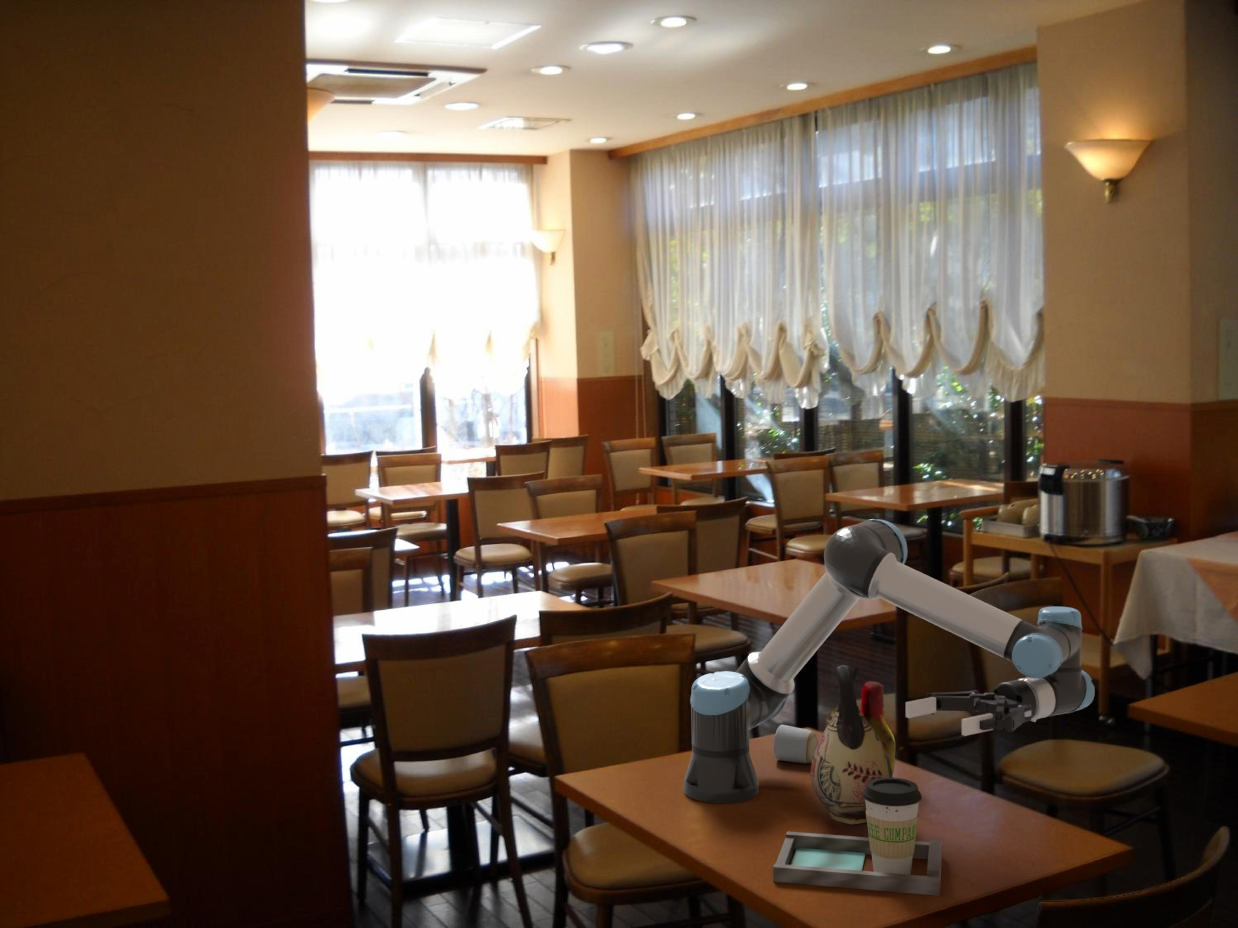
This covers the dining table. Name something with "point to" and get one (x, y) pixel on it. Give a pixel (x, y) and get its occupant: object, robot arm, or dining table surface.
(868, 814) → the coffee cup
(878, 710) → the bottle
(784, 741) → the ceramic mug
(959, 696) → the robot arm
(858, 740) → the ceramic jug
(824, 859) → the bay
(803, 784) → the dining table surface
